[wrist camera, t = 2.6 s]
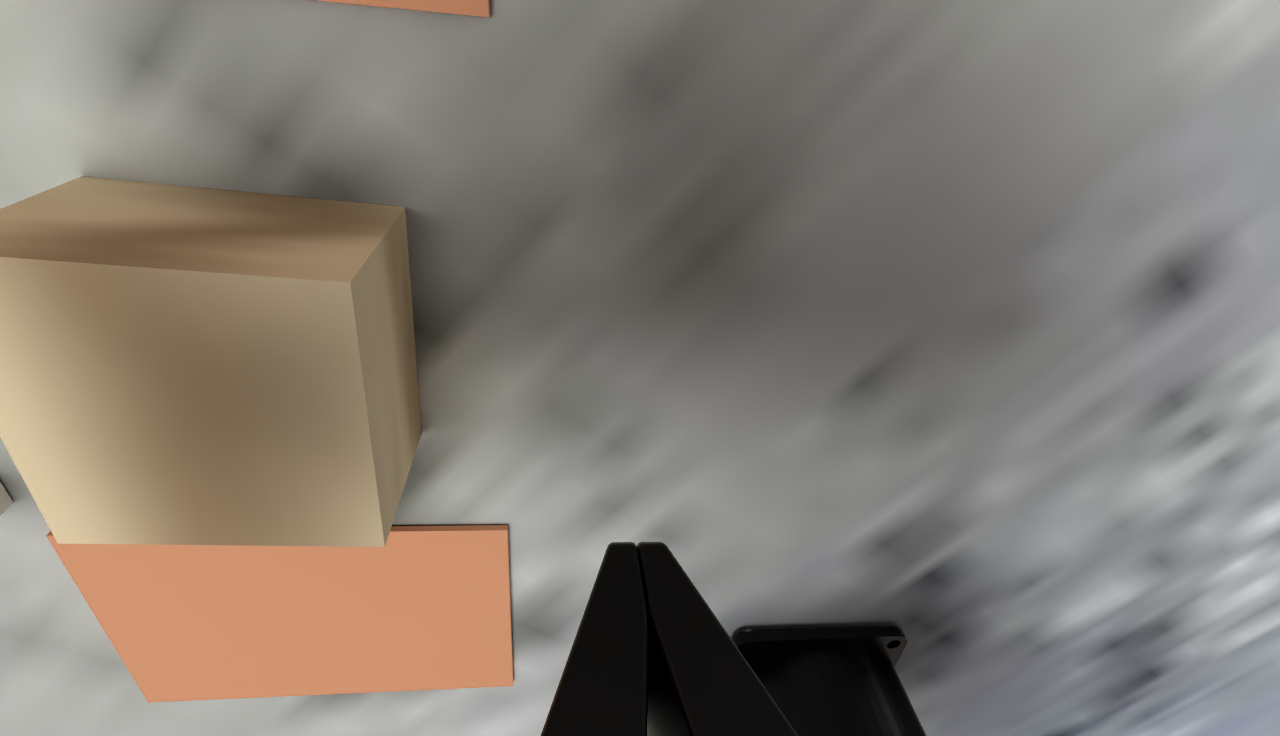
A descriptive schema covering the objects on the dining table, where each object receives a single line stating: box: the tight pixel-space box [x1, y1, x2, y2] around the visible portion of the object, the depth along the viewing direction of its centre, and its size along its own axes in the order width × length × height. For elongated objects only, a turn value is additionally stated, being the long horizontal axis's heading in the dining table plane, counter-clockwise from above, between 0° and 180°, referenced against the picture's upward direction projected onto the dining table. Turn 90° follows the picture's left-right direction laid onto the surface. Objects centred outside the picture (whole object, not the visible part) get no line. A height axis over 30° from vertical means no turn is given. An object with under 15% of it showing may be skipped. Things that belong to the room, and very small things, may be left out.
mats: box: [46, 0, 513, 702], centre depth 14 cm, size 12×29×1 cm, turn 175°
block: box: [0, 177, 422, 547], centre depth 12 cm, size 6×6×4 cm
